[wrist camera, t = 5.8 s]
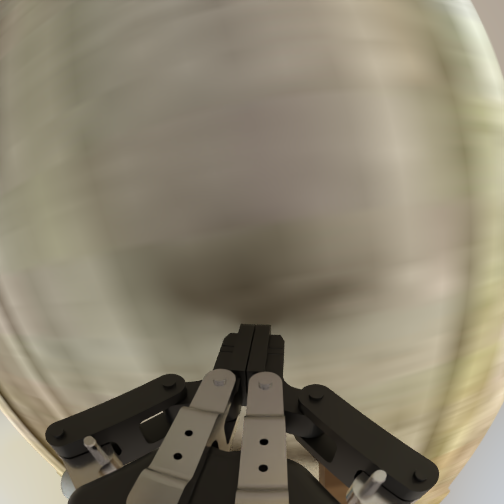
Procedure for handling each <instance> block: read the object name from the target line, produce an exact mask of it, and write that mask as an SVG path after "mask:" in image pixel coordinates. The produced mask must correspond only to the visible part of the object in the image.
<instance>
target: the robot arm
mask: <svg viewBox="0 0 504 504" xmlns="http://www.w3.org/2000/svg"><path fill="white" fill-rule="evenodd" d="M283 365H284V340H283V338H282V337H281V335H271V325H253V324H241V325H240V329H239V332H238V333H230V334H229V335H228V336H226V337H225V338H224V340H223V343H222V347H221V349H220V352H219V355H218V357H217V360H216V363H215V366H214V369H213V370H212V371H210V372H208V373H207V374H206V375H205V376H204V378H203V380H200V381H194V382H185V380H184V379H183V378H182V377H181V376H179V375H176V374H166V375H163V376H161V377H159V378H157V379H154V380H152V381H150V382H148V383H146V384H144V385H142V386H140V387H138V388H135V389H133V390H131V391H129V392H127V393H125V394H122V395H120V396H118V397H116V398H113V399H111V400H109V401H106V402H104V403H102V404H99V405H97V406H95V407H92V408H90V409H88V410H85V411H83V412H80V413H78V414H75V415H73V416H70V417H68V418H65V419H63V420H60V421H57V422H55V423H53V424H51V425H50V426H49V427H48V428H47V430H46V433H45V437H46V440H47V442H48V443H49V444H50V445H51V446H52V448H53V449H54V450H55V451H56V453H57V454H58V456H59V457H60V458H61V459H62V460H63V462H64V465H65V467H66V469H67V472H68V474H69V476H70V478H71V481H72V483H73V485H74V487H75V489H76V490H75V491H74V492H73V493H72V494H71V496H70V498H69V501H68V504H341V503H340V502H339V501H338V500H337V499H336V498H335V497H334V496H333V495H332V494H331V493H330V492H329V491H328V490H327V489H325V488H324V487H323V485H322V484H321V483H320V482H319V481H318V480H317V479H316V478H315V477H314V476H313V475H312V474H311V473H310V472H309V471H308V470H307V469H306V468H304V467H303V466H302V465H300V464H299V463H297V462H295V461H293V460H290V459H287V451H286V433H289V434H293V435H294V436H295V438H296V440H297V441H298V442H299V443H300V444H301V445H302V446H303V447H304V448H305V449H306V450H307V451H308V452H309V453H310V454H311V455H313V456H314V457H315V458H316V459H317V460H318V461H319V462H320V463H321V464H322V465H323V466H324V467H325V468H327V469H328V470H329V471H330V472H331V473H332V474H333V475H334V476H336V477H337V478H338V479H339V480H340V481H341V482H342V483H344V484H345V485H346V486H347V487H348V488H349V489H348V491H347V493H346V501H347V503H348V504H414V503H415V502H416V501H417V500H419V499H420V498H421V497H422V496H423V495H424V494H425V493H426V492H428V491H429V490H430V489H431V488H432V487H433V486H434V485H435V484H436V482H437V481H438V478H439V470H438V468H437V466H436V465H435V464H434V463H433V462H432V461H430V460H429V459H427V458H425V457H424V456H422V455H421V454H419V453H418V452H416V451H415V450H413V449H412V448H410V447H409V446H407V445H406V444H404V443H403V442H401V441H400V440H399V439H397V438H396V437H394V436H393V435H391V434H390V433H388V432H387V431H386V430H384V429H383V428H381V427H380V426H379V425H377V424H376V423H374V422H373V421H372V420H370V419H369V418H368V417H366V416H365V415H363V414H362V413H361V412H359V411H358V410H357V409H355V408H354V407H353V406H351V405H350V404H349V403H347V402H346V401H345V400H343V399H342V398H341V397H339V396H338V395H337V394H335V393H334V392H333V391H332V390H330V389H329V388H327V387H326V386H323V385H319V384H313V385H308V386H306V387H304V388H303V389H302V390H301V389H297V388H294V387H291V386H290V385H288V384H287V383H286V382H285V381H284V379H283ZM241 406H247V409H246V416H244V425H243V436H242V446H241V451H231V452H230V447H231V444H232V441H233V438H234V435H235V432H236V429H237V426H238V422H239V419H240V415H239V414H240V411H241ZM161 411H163V413H161V414H159V415H157V416H155V417H153V418H151V419H150V420H148V421H146V422H144V423H141V422H142V421H144V420H146V419H148V418H150V417H152V416H153V415H155V414H157V413H159V412H161ZM140 423H141V424H140ZM132 461H133V462H132ZM130 462H131V463H130ZM128 463H129V464H128ZM126 464H127V465H126ZM124 465H125V466H124Z"/></svg>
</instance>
